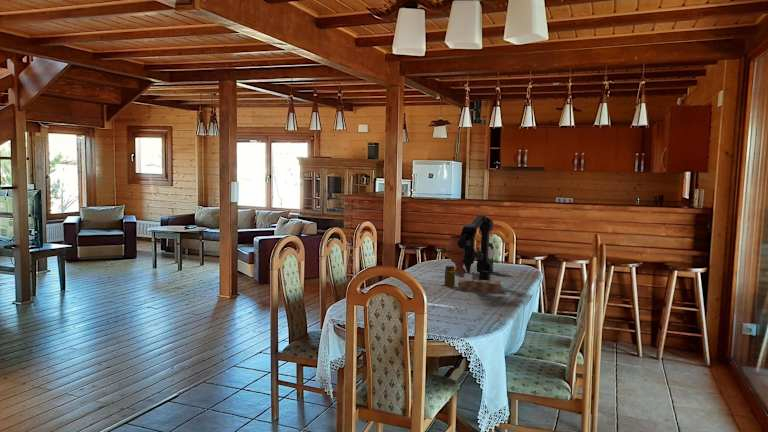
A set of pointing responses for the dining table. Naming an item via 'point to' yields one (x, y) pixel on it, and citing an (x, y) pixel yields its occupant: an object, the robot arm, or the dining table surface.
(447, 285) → the condiment
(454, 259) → the goblet
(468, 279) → the peg
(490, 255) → the milk carton
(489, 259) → the robot arm
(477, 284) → the housing
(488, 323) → the dining table surface
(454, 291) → the dining table surface
